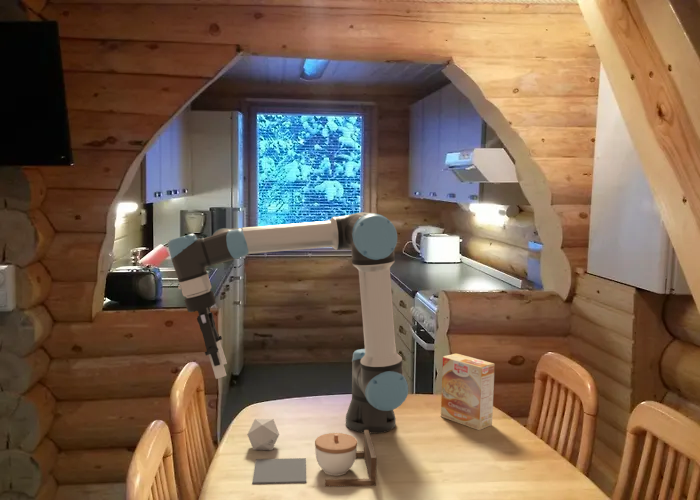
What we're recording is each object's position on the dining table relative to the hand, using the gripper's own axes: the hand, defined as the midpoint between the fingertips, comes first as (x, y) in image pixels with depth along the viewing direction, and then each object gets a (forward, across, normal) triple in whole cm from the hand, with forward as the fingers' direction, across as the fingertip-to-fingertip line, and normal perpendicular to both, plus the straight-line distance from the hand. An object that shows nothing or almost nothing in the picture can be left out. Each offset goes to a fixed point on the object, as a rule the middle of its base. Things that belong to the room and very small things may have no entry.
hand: (221, 370), depth 167 cm
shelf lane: (+32, +12, +24) cm, 41 cm away
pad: (+27, +10, +7) cm, 30 cm away
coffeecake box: (+42, -16, +65) cm, 79 cm away
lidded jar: (+31, +12, +21) cm, 39 cm away
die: (+25, -5, +4) cm, 26 cm away
